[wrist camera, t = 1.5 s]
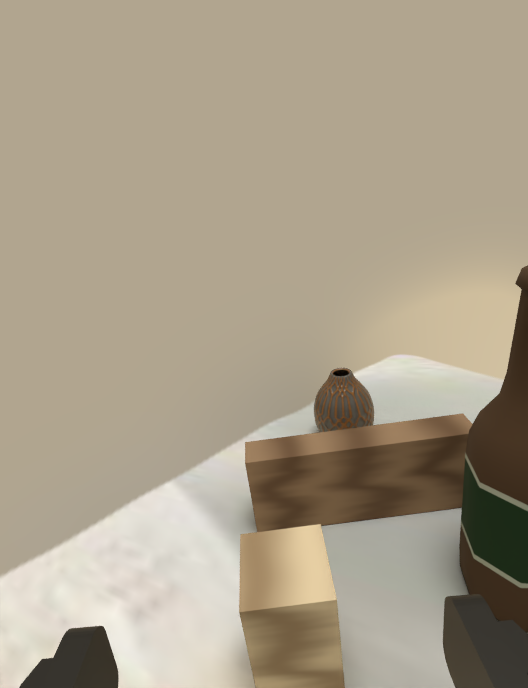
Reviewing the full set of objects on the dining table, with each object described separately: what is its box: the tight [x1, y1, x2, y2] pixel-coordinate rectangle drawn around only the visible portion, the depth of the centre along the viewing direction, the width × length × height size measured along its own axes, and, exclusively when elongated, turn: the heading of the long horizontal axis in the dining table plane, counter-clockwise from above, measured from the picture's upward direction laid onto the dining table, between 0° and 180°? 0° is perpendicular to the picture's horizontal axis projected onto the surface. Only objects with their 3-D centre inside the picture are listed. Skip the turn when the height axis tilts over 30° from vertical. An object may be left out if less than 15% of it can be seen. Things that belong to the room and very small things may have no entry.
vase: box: [314, 368, 374, 432], centre depth 49 cm, size 7×7×9 cm
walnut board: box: [245, 414, 473, 532], centre depth 38 cm, size 20×3×8 cm, turn 92°
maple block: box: [239, 524, 345, 688], centre depth 25 cm, size 5×5×10 cm
